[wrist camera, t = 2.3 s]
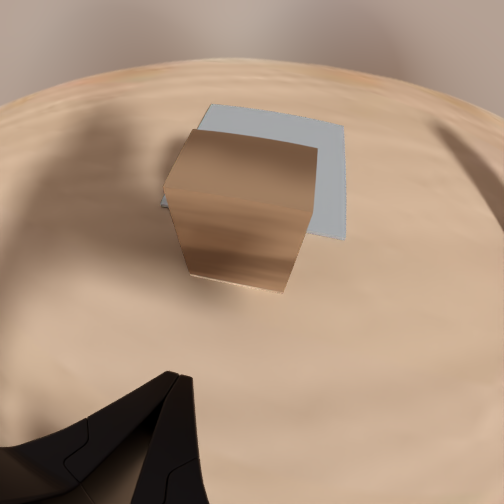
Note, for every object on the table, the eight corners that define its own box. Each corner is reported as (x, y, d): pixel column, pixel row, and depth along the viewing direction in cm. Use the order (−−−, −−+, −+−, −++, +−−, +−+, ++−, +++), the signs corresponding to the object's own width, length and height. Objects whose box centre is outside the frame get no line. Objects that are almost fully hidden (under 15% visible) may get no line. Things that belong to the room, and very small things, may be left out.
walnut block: (282, 294, 22) (313, 212, 13) (190, 275, 22) (162, 186, 13) (290, 242, 24) (317, 148, 15) (206, 226, 24) (192, 128, 15)
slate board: (344, 240, 24) (345, 237, 24) (161, 206, 25) (160, 203, 24) (342, 128, 32) (343, 125, 31) (211, 106, 33) (211, 104, 32)
